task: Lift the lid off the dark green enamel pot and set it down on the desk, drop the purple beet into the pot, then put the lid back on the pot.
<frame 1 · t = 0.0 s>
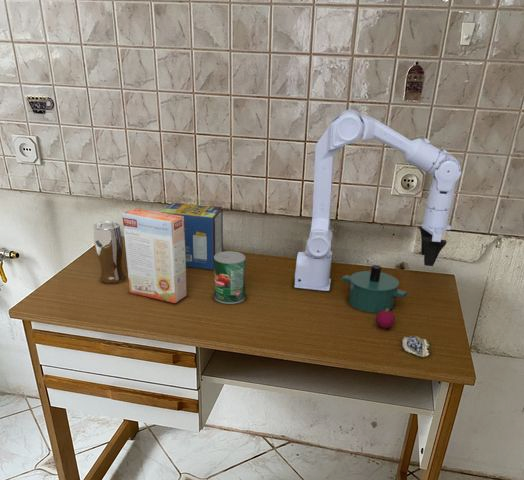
hand: (427, 260, 134), 10 cm above the table, tool pointing down, fingers open, 7 cm apart
lid: (374, 281, 131), point 6 cm above the table, touching pot
pot: (370, 302, 134), on the table
protein box: (193, 261, 154), on the table
canned tomato: (229, 298, 133), on the table
cracker box: (158, 295, 133), on the table
beet: (385, 319, 121), point 2 cm above the table
beer glass: (113, 280, 140), on the table
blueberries: (416, 348, 115), on the table
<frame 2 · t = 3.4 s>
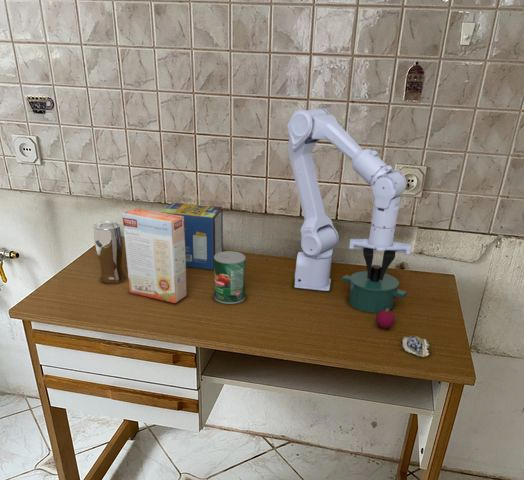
hand: (374, 278, 130), 7 cm above the table, tool pointing down, fingers closed on lid, 2 cm apart
lid: (374, 281, 131), point 6 cm above the table, touching gripper, pot
everything else where it was.
when the fingers open (2 cm above the table, at t = 7.5 s): lid stays where it is, point 1 cm above the table.
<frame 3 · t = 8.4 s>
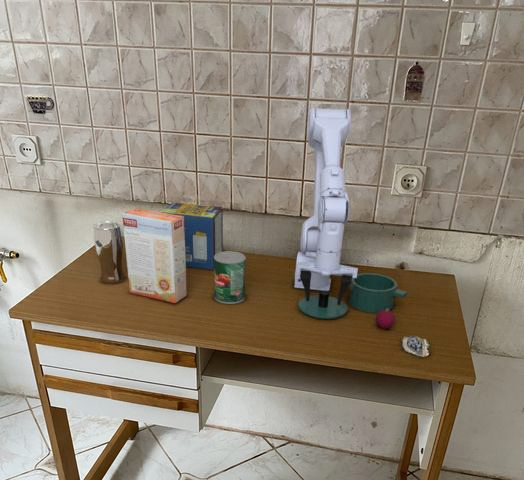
hand: (323, 301, 128), 2 cm above the table, tool pointing down, fingers open, 7 cm apart
lid: (322, 307, 129), point 1 cm above the table
everything else where it was.
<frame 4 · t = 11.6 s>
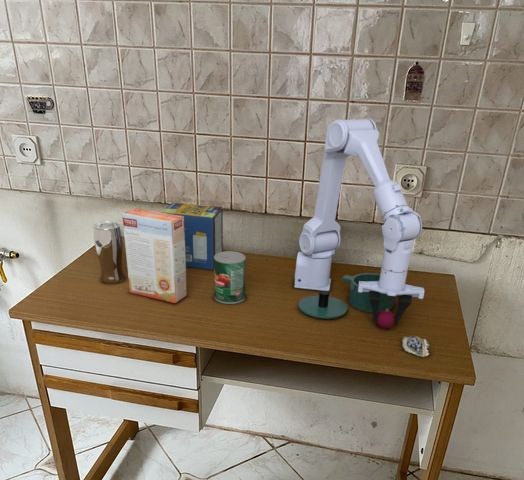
hand: (384, 322, 122), 1 cm above the table, tool pointing down, fingers closed on beet, 4 cm apart
beet: (385, 319, 121), point 2 cm above the table, touching gripper
everything else where it was.
when the fingers open (4 cm above the table, at t = 16.0 s): beet drops 3 cm, resting on pot.
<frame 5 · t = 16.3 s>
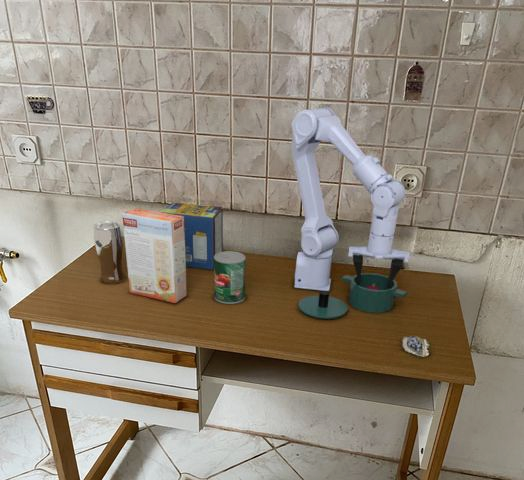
hand: (373, 285, 131), 5 cm above the table, tool pointing down, fingers open, 7 cm apart
beet: (372, 293, 133), point 3 cm above the table, touching pot
everything else where it was.
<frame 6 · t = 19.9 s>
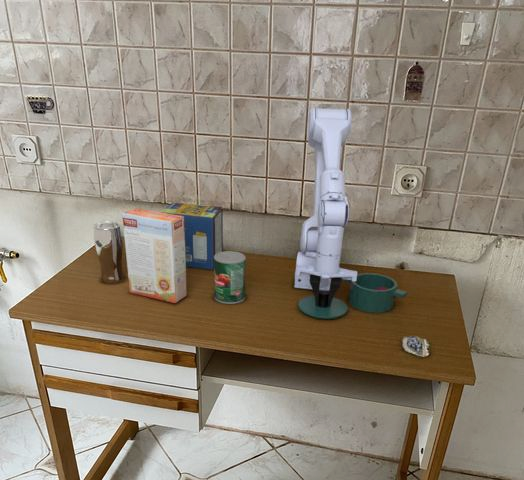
hand: (322, 304, 129), 1 cm above the table, tool pointing down, fingers closed on lid, 2 cm apart
lid: (322, 307, 129), point 1 cm above the table, touching gripper
beet: (381, 295, 132), point 3 cm above the table, tilted 64°, touching pot
everything else where it was.
when the fingers open (7 cm above the table, at t = 23.8 s): lid stays where it is, resting on pot.
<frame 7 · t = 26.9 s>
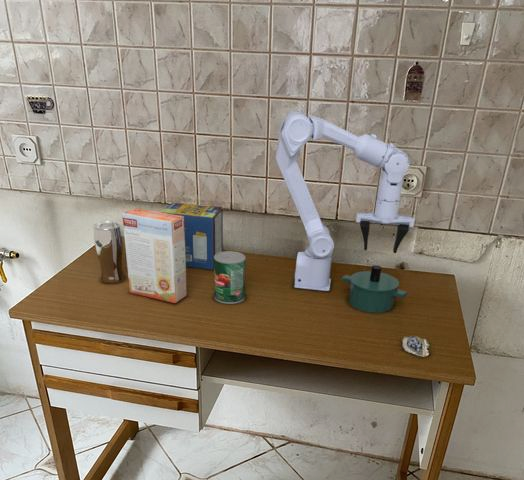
hand: (379, 250, 138), 10 cm above the table, tool pointing down, fingers open, 7 cm apart
lid: (374, 281, 131), point 6 cm above the table, touching pot
everything else where it was.
at the end: beet inside the target area in the pot (2.4 cm from its centre), point 2.6 cm above the pot's base; lid 0.1 cm off-centre on the pot, point 5.9 cm above the pot's base; lid tilted 0° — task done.
